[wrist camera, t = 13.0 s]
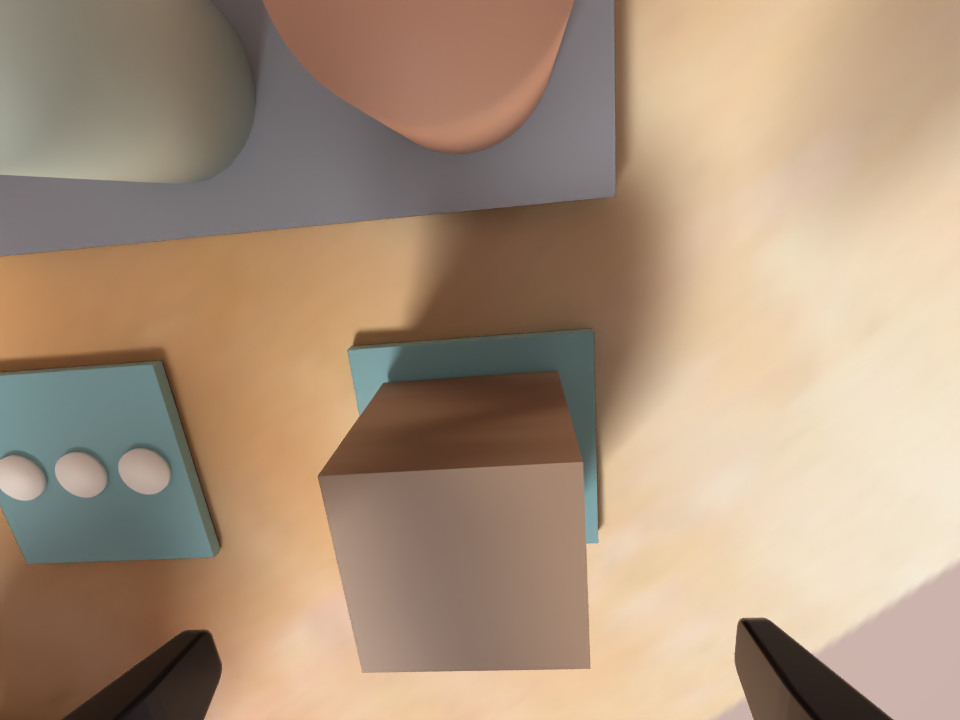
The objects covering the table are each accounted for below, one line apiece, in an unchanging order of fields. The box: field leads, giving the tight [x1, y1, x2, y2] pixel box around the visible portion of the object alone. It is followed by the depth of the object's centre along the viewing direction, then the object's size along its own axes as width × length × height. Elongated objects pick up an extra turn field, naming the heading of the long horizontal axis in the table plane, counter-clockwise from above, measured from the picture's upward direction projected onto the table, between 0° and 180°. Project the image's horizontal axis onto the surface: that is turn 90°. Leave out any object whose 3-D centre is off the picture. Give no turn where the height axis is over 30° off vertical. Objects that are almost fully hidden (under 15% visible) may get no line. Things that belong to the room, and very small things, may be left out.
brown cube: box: [318, 370, 590, 673], centre depth 12 cm, size 5×5×5 cm
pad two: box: [347, 328, 598, 544], centre depth 15 cm, size 7×7×1 cm
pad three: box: [0, 360, 220, 564], centre depth 16 cm, size 7×7×1 cm
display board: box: [0, 0, 616, 256], centre depth 10 cm, size 7×21×6 cm, turn 95°
